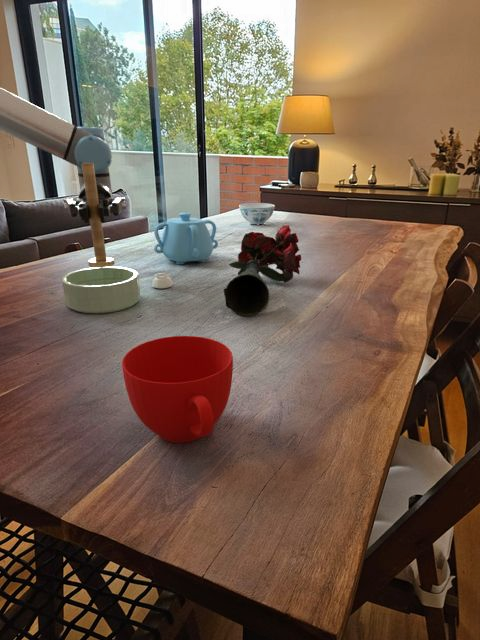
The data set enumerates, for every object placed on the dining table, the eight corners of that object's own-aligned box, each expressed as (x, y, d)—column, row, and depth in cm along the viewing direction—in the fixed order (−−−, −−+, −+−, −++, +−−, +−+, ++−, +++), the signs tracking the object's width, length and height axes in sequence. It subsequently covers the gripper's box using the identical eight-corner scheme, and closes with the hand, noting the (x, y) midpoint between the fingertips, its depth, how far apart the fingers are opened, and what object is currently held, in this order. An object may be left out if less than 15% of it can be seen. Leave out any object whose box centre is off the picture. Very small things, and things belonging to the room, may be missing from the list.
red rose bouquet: (253, 350, 98) (260, 291, 128) (323, 299, 92) (313, 250, 122) (203, 296, 92) (223, 248, 123) (273, 239, 86) (276, 203, 117)
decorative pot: (224, 257, 141) (223, 211, 135) (195, 269, 128) (193, 219, 122) (181, 251, 147) (178, 207, 141) (149, 262, 134) (144, 214, 128)
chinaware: (276, 221, 201) (277, 203, 198) (271, 227, 188) (271, 208, 184) (243, 220, 203) (243, 202, 200) (235, 226, 190) (235, 206, 187)
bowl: (55, 300, 102) (50, 274, 99) (120, 287, 111) (117, 263, 109) (84, 320, 91) (79, 291, 89) (153, 303, 101) (150, 277, 98)
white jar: (150, 284, 113) (154, 290, 109) (149, 273, 112) (153, 278, 108) (169, 282, 115) (175, 288, 111) (169, 271, 114) (174, 276, 110)
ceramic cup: (151, 495, 47) (141, 413, 43) (122, 413, 61) (113, 345, 57) (264, 462, 52) (265, 386, 48) (213, 393, 66) (211, 329, 62)
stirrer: (84, 264, 97) (68, 162, 88) (107, 260, 100) (94, 162, 92) (95, 269, 93) (79, 164, 85) (118, 265, 97) (106, 163, 88)
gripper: (131, 215, 111) (136, 233, 91) (64, 217, 107) (54, 237, 87) (127, 182, 108) (132, 193, 88) (58, 183, 104) (46, 195, 84)
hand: (93, 215), depth 87 cm, fingers closed on stirrer, 2 cm apart
